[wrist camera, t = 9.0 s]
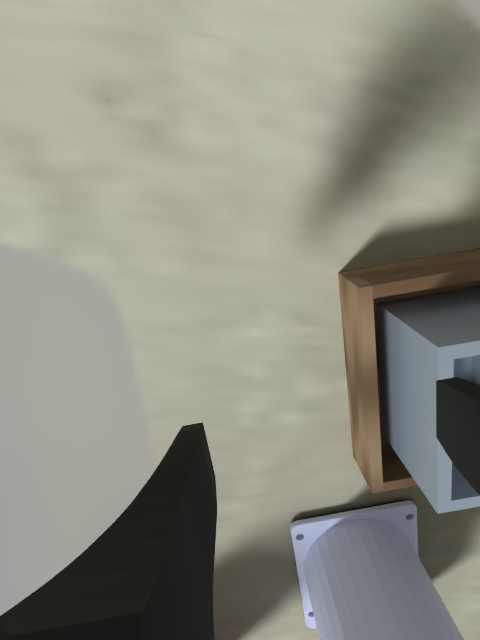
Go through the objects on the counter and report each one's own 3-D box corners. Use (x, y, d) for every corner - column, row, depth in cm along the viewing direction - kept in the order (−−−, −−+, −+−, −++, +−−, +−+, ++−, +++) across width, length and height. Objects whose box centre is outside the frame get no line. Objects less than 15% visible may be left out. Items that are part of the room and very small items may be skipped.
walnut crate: (495, 426, 25) (539, 464, 21) (351, 451, 25) (372, 493, 21) (506, 241, 21) (561, 252, 18) (335, 271, 21) (359, 287, 17)
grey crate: (473, 417, 23) (557, 492, 18) (382, 433, 23) (437, 514, 18) (479, 285, 21) (580, 323, 15) (376, 302, 21) (438, 347, 15)
